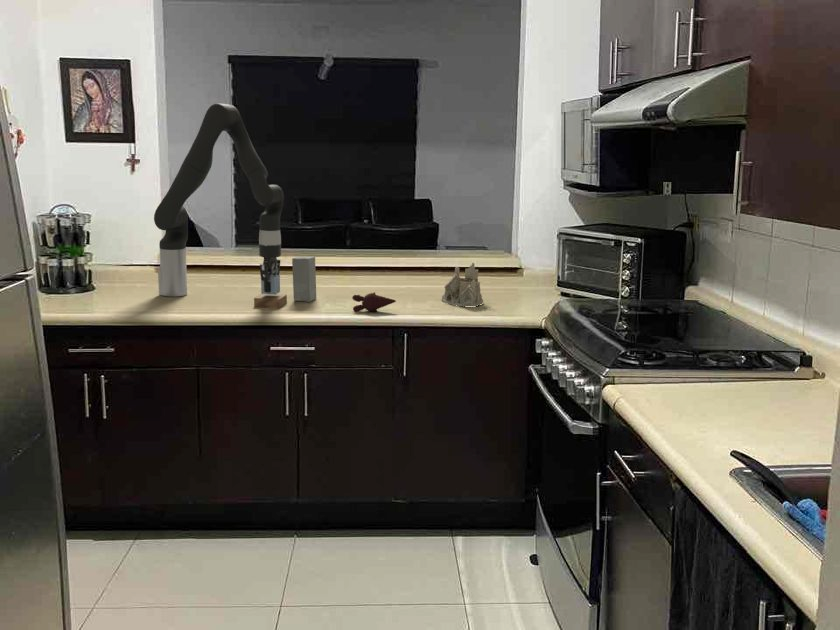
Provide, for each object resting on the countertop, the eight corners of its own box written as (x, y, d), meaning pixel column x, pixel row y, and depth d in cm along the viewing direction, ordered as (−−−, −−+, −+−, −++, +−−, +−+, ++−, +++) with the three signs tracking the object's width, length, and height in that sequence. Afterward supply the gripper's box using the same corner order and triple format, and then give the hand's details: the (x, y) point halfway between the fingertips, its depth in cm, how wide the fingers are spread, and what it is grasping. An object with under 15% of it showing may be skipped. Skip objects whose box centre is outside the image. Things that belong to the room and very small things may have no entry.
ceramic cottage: (445, 296, 330) (447, 258, 326) (487, 302, 325) (490, 263, 321) (433, 307, 316) (435, 266, 312) (477, 312, 311) (480, 272, 307)
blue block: (261, 293, 304) (261, 276, 303) (266, 291, 309) (266, 274, 308) (274, 294, 303) (274, 277, 302) (279, 292, 308) (279, 275, 307)
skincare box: (310, 302, 313) (310, 259, 310) (291, 301, 315) (291, 257, 311) (317, 298, 321) (317, 255, 318) (299, 297, 323) (298, 254, 319)
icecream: (395, 291, 304) (353, 294, 305) (394, 290, 297) (350, 292, 297) (396, 311, 304) (354, 313, 304) (395, 310, 296) (352, 313, 297)
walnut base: (254, 307, 303) (254, 298, 303) (262, 302, 312) (262, 293, 311) (279, 309, 302) (279, 299, 302) (286, 304, 311) (286, 294, 310)
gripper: (267, 239, 310) (267, 286, 314) (251, 244, 296) (252, 293, 300) (287, 240, 309) (287, 288, 312) (272, 246, 295) (273, 295, 299)
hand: (270, 290), depth 306 cm, fingers closed on blue block, 5 cm apart
